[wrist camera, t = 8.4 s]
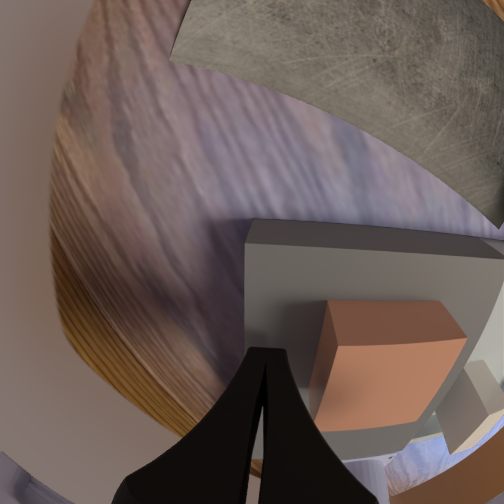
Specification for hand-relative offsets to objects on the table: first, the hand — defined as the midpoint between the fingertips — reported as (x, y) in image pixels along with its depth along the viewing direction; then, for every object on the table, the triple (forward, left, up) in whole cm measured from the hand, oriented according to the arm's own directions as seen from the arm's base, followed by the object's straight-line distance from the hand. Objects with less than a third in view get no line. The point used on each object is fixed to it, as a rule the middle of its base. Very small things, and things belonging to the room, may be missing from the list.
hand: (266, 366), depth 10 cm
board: (-3, -5, -4) cm, 7 cm away
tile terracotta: (0, -4, -1) cm, 5 cm away
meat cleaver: (+11, -13, -4) cm, 17 cm away
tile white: (-7, -14, -1) cm, 15 cm away
